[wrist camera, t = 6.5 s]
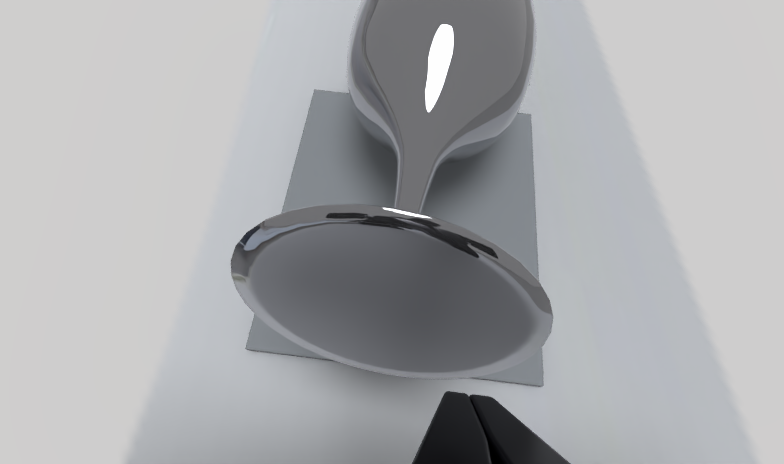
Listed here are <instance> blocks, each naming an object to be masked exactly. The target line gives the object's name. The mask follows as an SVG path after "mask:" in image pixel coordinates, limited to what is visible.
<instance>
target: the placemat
mask: <svg viewBox="0 0 784 464" xmlns="http://www.w3.org/2000/svg"><path fill="white" fill-rule="evenodd" d="M396 176H397V159H396V156H395V155H393V154H391V153H389V152H388V151H387V150H385V149H384V148H383V147H381V146H380V145H379V144H378V143H377V142H376V141H375V140H374V139H373V138H372V137H371V136H370V135H369V134H368V132H367V131H366V130H365V128H364V127H363V126H362V124H361V123H360V121H359V119H358V117H357V115H356V113H355V111H354V109H353V105H352V102H351V99H350V94H349V93H341V92H332V91H323V90H314V93H313V96H312V100H311V104H310V108H309V111H308V115H307V119H306V123H305V126H304V130H303V134H302V138H301V142H300V145H299V149H298V153H297V157H296V160H295V164H294V168H293V172H292V175H291V179H290V183H289V187H288V190H287V194H286V198H285V202H284V205H283V209H282V213H284V212H287V211H289V210H294V209H299V208H305V207H310V206H316V205H327V204H364V205H374V206H385V207H393V206H394V199H395V189H396ZM421 214H425V215H429V216H432V217H435V218H438V219H441V220H443V221H446V222H449V223H452V224H455V225H458V226H461V227H463V228H466V229H468V230H470V231H472V232H474V233H475V234H477V235H479V236H481V237H483V238H485V239H487V240H489V241H491V242H493V243H495V244H497V245H498V246H499V247H501V248H502V249H504V250H505V251H506V252H508V253H509V254H511V255H512V256H513V257H515V258H516V259H518V260H519V261H520V262H521V263H522V264H523V265H524V266H525V267H526V268H527V269H528V270H529V271H530V272H531V273H532V274H533V275H534V276H535V277H536V278H537V280H538V281H539V275H538V253H537V232H536V211H535V189H534V168H533V147H532V126H531V114H523V113H517V115H516V116H515V118H514V119H513V121H512V122H511V124H510V125H509V127H508V128H507V130H506V131H505V132H504V133H503V134H502V135H501V137H500V138H499V139H498V140H497V141H496V142H494V143H493V144H492V145H491V146H489V147H488V148H487V149H485V150H484V151H482V152H480V153H478V154H476V155H474V156H472V157H470V158H468V159H465V160H462V161H460V162H457V163H452V164H447V165H440V166H439V167H438V169H437V171H436V173H435V175H434V178H433V180H432V183H431V185H430V188H429V191H428V194H427V197H426V200H425V203H424V206H423V210H422V213H421ZM245 349H247V350H253V351H261V352H269V353H277V354H285V355H293V356H301V357H309V358H317V359H325V360H332V359H329V358H326V357H324V356H321V355H319V354H317V353H315V352H312V351H310V350H308V349H306V348H304V347H302V346H300V345H298V344H296V343H294V342H293V341H291V340H289V339H287V338H285V337H284V336H283V335H281V334H280V333H278V332H277V331H275V330H274V329H272V328H271V327H269V326H268V325H267V324H266V323H265V322H263V321H262V320H261V319H260V318H259V317H258V316H256V314H255V315H254V318H253V322H252V326H251V330H250V333H249V337H248V341H247V345H246V348H245ZM333 361H334V360H333ZM470 378H477V379H485V380H493V381H501V382H509V383H517V384H525V385H533V386H544V381H543V360H542V347H541V348H540V349H539V350H538V351H537V352H536V353H535V354H534V355H533V356H531V357H530V358H528V359H526V360H525V361H523V362H521V363H520V364H518V365H516V366H513V367H511V368H508V369H505V370H503V371H500V372H496V373H492V374H488V375H484V376H477V377H470Z"/></svg>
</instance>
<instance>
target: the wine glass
mask: <svg viewBox="0 0 784 464" xmlns="http://www.w3.org/2000/svg"><path fill="white" fill-rule="evenodd" d="M535 56H536V19H535V12H534V5H533V0H361V3H360V5H359V7H358V10H357V12H356V15H355V17H354V22H353V26H352V31H351V35H350V40H349V44H348V56H347V82H348V89H349V94H350V99H351V102H352V105H353V109H354V111H355V113H356V115H357V117H358V119H359V121H360V123H361V124H362V126H363V127H364V128H365V130H366V131H367V132H368V134H369V135H370V136H371V137H372V138H373V139H374V140H375V141H376V142H377V143H378V144H379V145H380V146H381V147H383V148H384V149H385V150H387V151H388V152H389V153H391V154H393V155H395V156H396V159H397V176H396V189H395V199H394V206H393V207H385V206H374V205H364V204H327V205H316V206H310V207H305V208H299V209H294V210H289V211H287V212H284V213H281V214H279V215H276V216H274V217H271V218H268V219H266V220H265V221H263V222H262V223H260V224H259V225H257V226H256V227H254V228H253V229H251V230H250V231H248V232H247V233H246V234H245V235H244V236H243V238H242V239H241V240H240V241H239V243H238V244H237V245H236V247H235V250H234V253H233V256H232V259H231V275H232V278H233V281H234V284H235V287H236V290H237V291H238V293H239V294H240V296H241V297H242V299H243V301H244V302H245V303H246V305H247V306H248V307H249V308H250V309H251V310H252V311H253V312H254V313H255V314H256V316H258V317H259V318H260V319H261V320H262V321H263V322H265V323H266V324H267V325H268V326H269V327H271V328H272V329H274V330H275V331H277V332H278V333H280V334H281V335H283V336H284V337H285V338H287V339H289V340H291V341H293V342H294V343H296V344H298V345H300V346H302V347H304V348H306V349H308V350H310V351H312V352H315V353H317V354H319V355H321V356H324V357H326V358H329V359H332V360H334V361H337V362H340V363H343V364H346V365H350V366H353V367H356V368H360V369H364V370H368V371H373V372H377V373H381V374H387V375H394V376H400V377H408V378H419V379H461V378H470V377H477V376H484V375H488V374H492V373H496V372H500V371H503V370H505V369H508V368H511V367H513V366H516V365H518V364H520V363H521V362H523V361H525V360H526V359H528V358H530V357H531V356H533V355H534V354H535V353H536V352H537V351H538V350H539V349H540V348H541V347H542V346H543V345H544V344H545V342H546V340H547V338H548V336H549V335H550V333H551V328H552V322H553V314H552V309H551V304H550V300H549V298H548V297H547V295H546V293H545V291H544V290H543V288H542V286H541V284H540V283H539V281H538V280H537V278H536V277H535V276H534V275H533V274H532V273H531V272H530V271H529V270H528V269H527V268H526V267H525V266H524V265H523V264H522V263H521V262H520V261H519V260H518V259H516V258H515V257H513V256H512V255H511V254H509V253H508V252H506V251H505V250H504V249H502V248H501V247H499V246H498V245H497V244H495V243H493V242H491V241H489V240H487V239H485V238H483V237H481V236H479V235H477V234H475V233H474V232H472V231H470V230H468V229H466V228H463V227H461V226H458V225H455V224H452V223H449V222H446V221H443V220H441V219H438V218H435V217H432V216H429V215H425V214H421V213H422V210H423V206H424V203H425V200H426V197H427V194H428V191H429V188H430V185H431V183H432V180H433V178H434V175H435V173H436V171H437V169H438V167H439V166H440V165H447V164H452V163H457V162H460V161H462V160H465V159H468V158H470V157H472V156H474V155H476V154H478V153H480V152H482V151H484V150H485V149H487V148H488V147H489V146H491V145H492V144H493V143H494V142H496V141H497V140H498V139H499V138H500V137H501V135H502V134H503V133H504V132H505V131H506V130H507V128H508V127H509V125H510V124H511V122H512V121H513V119H514V118H515V116H516V115H517V113H518V111H519V109H520V106H521V104H522V102H523V99H524V97H525V94H526V92H527V89H528V87H529V83H530V79H531V75H532V70H533V65H534V61H535Z"/></svg>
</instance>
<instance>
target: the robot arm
mask: <svg viewBox="0 0 784 464" xmlns="http://www.w3.org/2000/svg"><path fill="white" fill-rule="evenodd" d="M412 464H570V463H569V462H568V461H567V460H565V459H564V458H563V457H562V456H561V455H560V454H558V453H557V452H556V451H555V450H554V449H552V448H551V447H550V446H549V445H548V444H547V443H545V442H544V441H543V440H542V439H541V438H540V437H538V436H537V435H536V434H535V433H534V432H532V431H531V430H530V429H529V428H528V427H527V426H525V425H524V424H523V423H522V422H521V421H519V420H518V419H517V418H516V417H515V416H514V415H512V414H511V413H510V412H509V411H508V410H507V409H505V408H504V407H503V406H502V405H501V404H499V403H498V402H497V401H496V400H495V399H493V398H492V397H488V396H481V395H470V396H468V395H467V394H465V393H457V392H450V391H447V392H445V394H444V396H443V398H442V400H441V402H440V404H439V406H438V408H437V411H436V413H435V415H434V417H433V419H432V421H431V424H430V426H429V428H428V430H427V432H426V434H425V436H424V439H423V441H422V443H421V445H420V447H419V449H418V451H417V454H416V456H415V458H414V460H413V462H412Z"/></svg>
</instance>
